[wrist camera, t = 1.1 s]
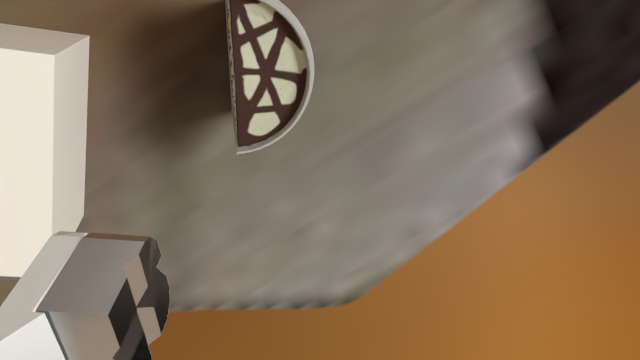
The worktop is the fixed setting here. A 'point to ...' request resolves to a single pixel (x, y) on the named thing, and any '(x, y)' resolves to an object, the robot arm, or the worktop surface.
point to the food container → (266, 71)
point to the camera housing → (40, 140)
